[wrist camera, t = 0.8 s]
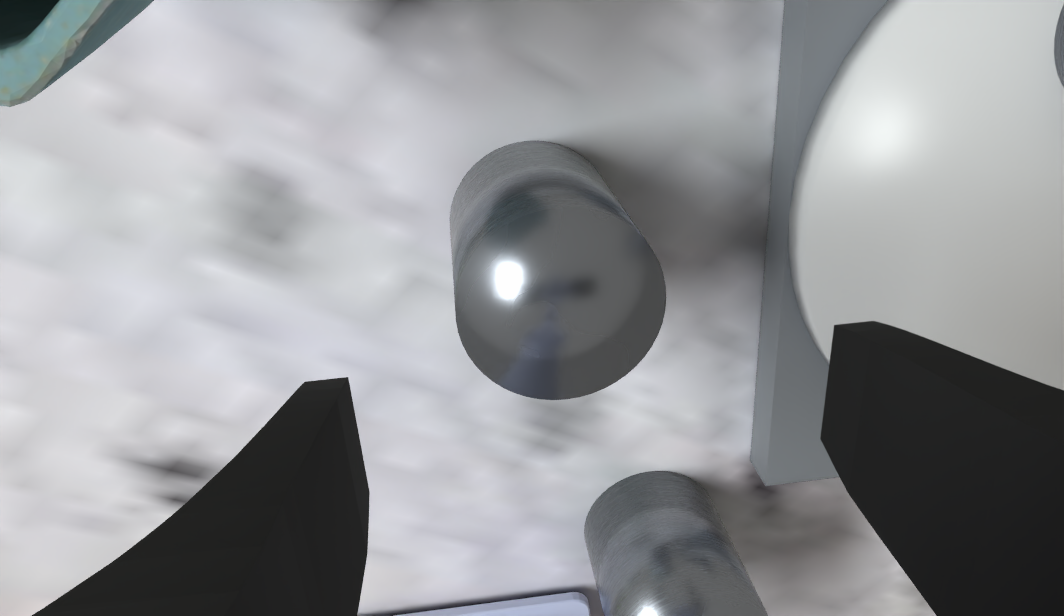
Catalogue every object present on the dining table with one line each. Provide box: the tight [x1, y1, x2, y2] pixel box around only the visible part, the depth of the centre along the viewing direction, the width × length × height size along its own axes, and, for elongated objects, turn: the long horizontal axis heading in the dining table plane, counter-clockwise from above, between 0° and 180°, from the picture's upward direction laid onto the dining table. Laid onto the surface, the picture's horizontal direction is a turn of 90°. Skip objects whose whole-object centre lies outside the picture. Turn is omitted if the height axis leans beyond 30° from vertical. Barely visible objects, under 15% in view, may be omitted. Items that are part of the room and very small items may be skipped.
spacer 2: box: [584, 471, 768, 616], centre depth 22 cm, size 4×4×5 cm
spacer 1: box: [450, 141, 666, 400], centre depth 17 cm, size 4×4×5 cm
